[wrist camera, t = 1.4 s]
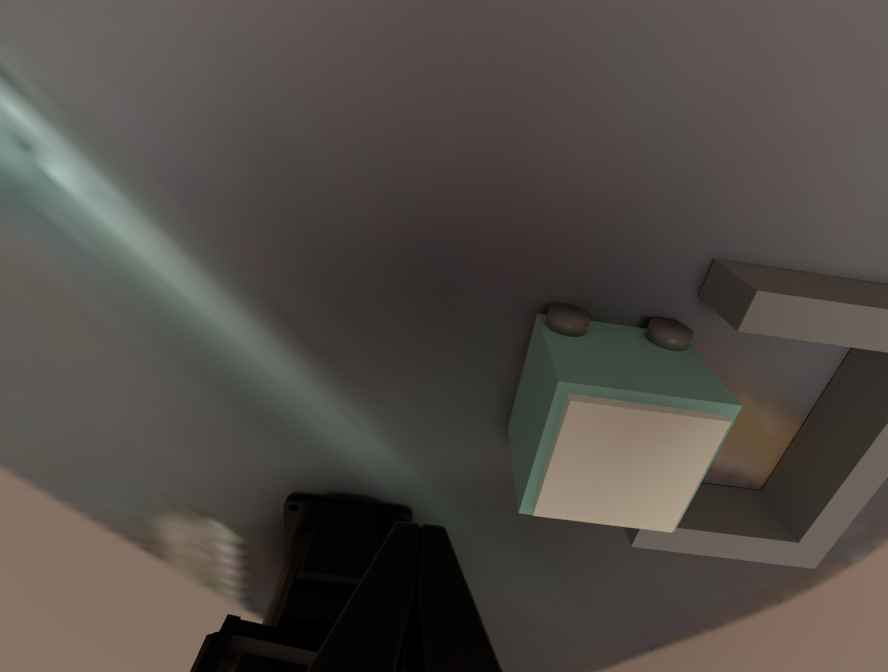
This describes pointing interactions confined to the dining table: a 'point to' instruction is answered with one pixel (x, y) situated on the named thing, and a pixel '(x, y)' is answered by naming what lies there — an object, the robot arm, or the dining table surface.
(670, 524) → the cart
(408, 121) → the dining table surface
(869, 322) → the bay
